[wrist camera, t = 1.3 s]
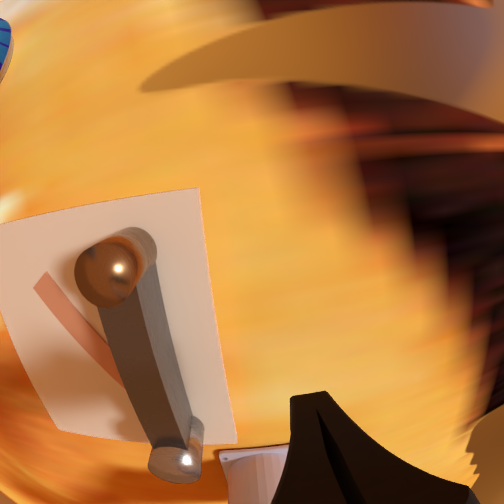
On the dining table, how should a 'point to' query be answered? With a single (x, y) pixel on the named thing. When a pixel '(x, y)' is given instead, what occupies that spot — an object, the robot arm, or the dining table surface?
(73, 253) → the board
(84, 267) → the lever
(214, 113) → the dining table surface
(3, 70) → the beer can
